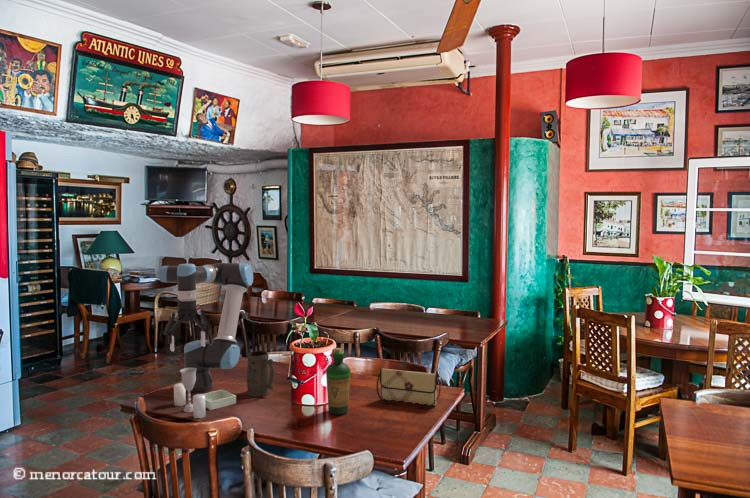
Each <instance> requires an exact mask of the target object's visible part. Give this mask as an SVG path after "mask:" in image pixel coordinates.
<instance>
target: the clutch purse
mask: <svg viewBox="0 0 750 498" xmlns="http://www.w3.org/2000/svg"><path fill="white" fill-rule="evenodd" d="M438 376H439V375H438V373H431V372H422V371H411V370H401V369H391V368H381V367H380V369H379V371H378V376H377V379H376V394H377V396H378V398H379V399H380V400H381V401H383V402H385V403H387V404H389V403H390V405H392V404H391V403H392V402H391V400H395V401H394V402H399V401H404V402H403V403H407V402H412V403H411V404H415V403H419V404H418V405H424V404H427V405H426V406H427V407H424V408H425V409H429V408H431V407H432V405H434V407H436V406H437V401H438V400H439V397H440V394H441V382H440V378H439V377H438ZM437 382H438V383H437ZM379 384H380V391H379ZM437 384H438V386H439V389H437V387H438V386H437ZM437 390H438V396H437ZM384 399H385V400H384Z"/></svg>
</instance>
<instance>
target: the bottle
mask: <svg viewBox="0 0 750 498" xmlns="http://www.w3.org/2000/svg"><path fill="white" fill-rule="evenodd" d="M331 358H332V363H331V364H329V365H328V366H327V367H326V369H325V375H326V388H327V389H326V390H327V406H328V413H329V414H332V415H336V416H342V415H345V414H347V413H348V412H349V402H350V400H349V399H350V383H351V368H350V367H349V365H348V364H347V363H345V362H344V358H345V353H344V351H343V348H342V347H335V348H334V350H333V351H332V353H331Z"/></svg>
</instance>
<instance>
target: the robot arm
mask: <svg viewBox="0 0 750 498" xmlns="http://www.w3.org/2000/svg"><path fill="white" fill-rule="evenodd" d="M157 276H158V280H159V281H160V282H161V283H174V284H175V283H176V284H177V300H178V301H177V312H173V311H171V312H170V313H169V314H170V315H169V319H168V320H167V323H166V325H165V327H164V329H163V332H162V334H163V335H164V336H167V344H169V350H170V351H171V352H175V336H174V333H175V332H176V331H177V329H179V327H180V326H181V324H183V322H184V323H187V322H192V321H193V322H194V323H195V324H197V326H198V328H200V329H201V331H200V339H198V340H194V341H190V342H188V343H185V345H184V347H183V348H184V350H183V356H184V357H183V359H184V360H183V361H184V363H183V364H184V368H196V369H197V370H196V381H195V385H194V387H193V389H192V390H191V391H190V393H199V392H204V391H208V390H211V389H212V388H213V387H214V380H213V377H212V374H211V371H210V369H222V370H230V369H233V368H234V367H235V366H236V365H237V364H238V362H239V359H240V356H241V349H240V348H241V347H240V346H239V345H238V341H237V340H236V334H237V329H238V323H239V317H240V311H241V307H242V302H243V297H244V293H246V292H247V291H248V287H251V286H252V284H253V283H254V272H253V269H252V267H251V265H249V264H248V263H243V262H239V263H238V262H233V263H232V262H217V263H211V264H204V265H198V266H196V265H195V264H194V263H181V264H180V263H179V264H178V265H162V266H161V267H160V268H159V269H158V274H157ZM198 284H213V285H216V286H217V285H219V286H223V288H224V289H225V296H224V299H223V306H222V311H221V316H220V320H219V325H218V330H217V336H216V337H214V338H213V340H212V343H210V342H209V341H210V340H208V339H207V338H208V331H209V330H211V329H212V326H211V324H210V323H209V321H208V319H207V317H206V315H205V311H204V309H201V308H199V309H198V310H197V300H196V298H197V285H198ZM197 315H199V316H200V319H201V321H202V322H203V323H202V322H201V321H200V320H199V319H198V318H197V317H196V316H197ZM175 318H176V319H175ZM175 320H176V321H175ZM186 393H188V391H186Z"/></svg>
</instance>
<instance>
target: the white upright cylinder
mask: <svg viewBox="0 0 750 498" xmlns="http://www.w3.org/2000/svg"><path fill="white" fill-rule="evenodd" d="M186 393H187V392H186V390H185V388H184V386H183V384H182V382H178V383H175V384H173V402H174V403H173V405H174V406H175V407H182V406H186V405H187V398H186V397H187V394H186Z"/></svg>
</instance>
